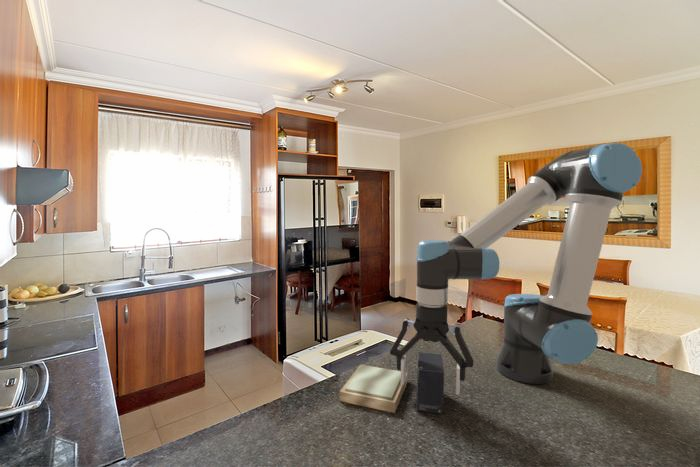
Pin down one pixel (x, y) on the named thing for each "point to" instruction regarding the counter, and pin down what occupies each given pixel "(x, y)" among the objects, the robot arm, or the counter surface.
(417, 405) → the small box
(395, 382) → the stand
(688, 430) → the counter surface
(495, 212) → the robot arm
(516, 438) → the counter surface
